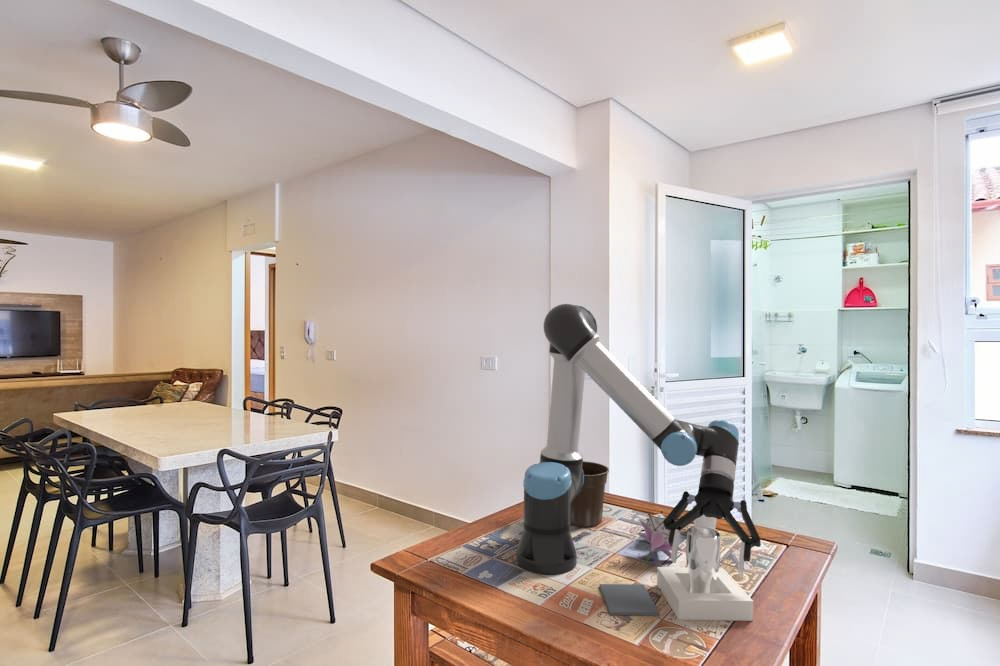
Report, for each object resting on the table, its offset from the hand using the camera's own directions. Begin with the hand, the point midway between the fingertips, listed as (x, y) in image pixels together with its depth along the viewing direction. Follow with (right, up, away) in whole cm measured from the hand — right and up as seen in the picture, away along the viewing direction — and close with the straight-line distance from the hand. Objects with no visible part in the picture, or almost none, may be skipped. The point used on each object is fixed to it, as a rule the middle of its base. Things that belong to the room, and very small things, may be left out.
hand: (705, 567), depth 116 cm
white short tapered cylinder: (+16, -8, +42) cm, 45 cm away
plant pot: (-19, -7, +49) cm, 53 cm away
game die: (0, -8, +33) cm, 34 cm away
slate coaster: (-17, -7, +1) cm, 18 cm away
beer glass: (-1, -8, +1) cm, 8 cm away
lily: (-4, -8, +21) cm, 23 cm away
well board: (-1, -8, +1) cm, 8 cm away
